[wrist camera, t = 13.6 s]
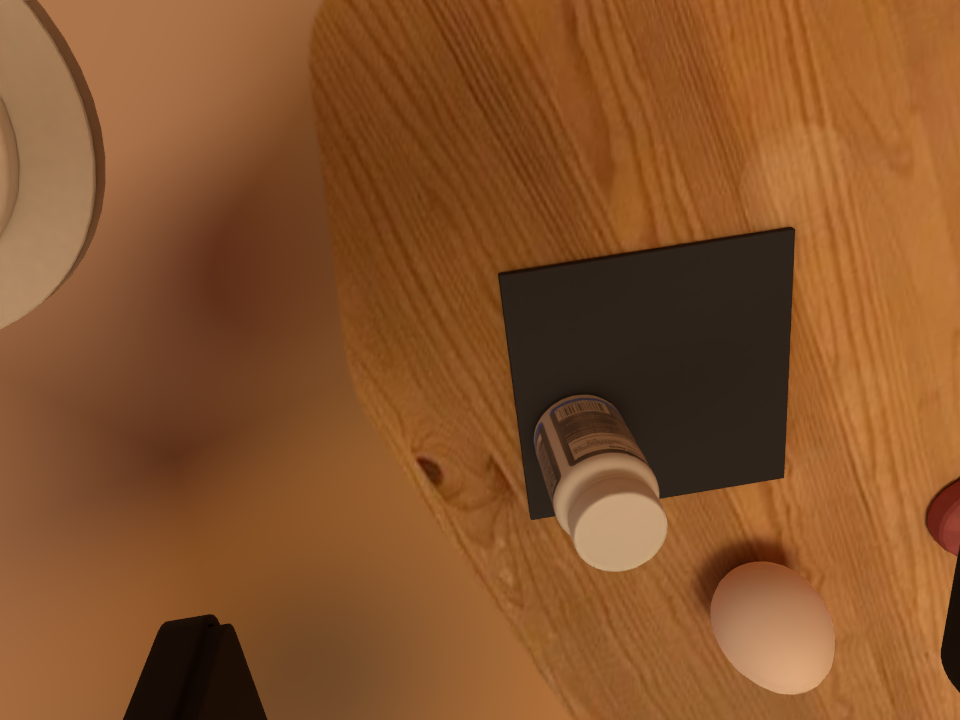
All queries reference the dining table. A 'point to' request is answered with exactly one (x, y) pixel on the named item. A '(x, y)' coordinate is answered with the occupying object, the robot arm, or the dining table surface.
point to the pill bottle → (600, 483)
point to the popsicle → (946, 519)
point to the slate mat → (662, 355)
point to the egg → (773, 627)
